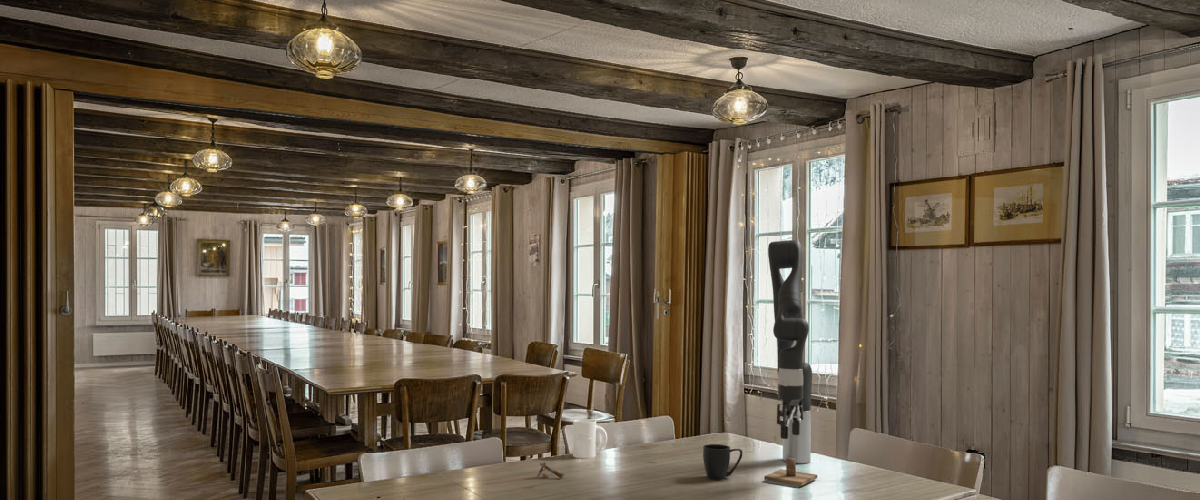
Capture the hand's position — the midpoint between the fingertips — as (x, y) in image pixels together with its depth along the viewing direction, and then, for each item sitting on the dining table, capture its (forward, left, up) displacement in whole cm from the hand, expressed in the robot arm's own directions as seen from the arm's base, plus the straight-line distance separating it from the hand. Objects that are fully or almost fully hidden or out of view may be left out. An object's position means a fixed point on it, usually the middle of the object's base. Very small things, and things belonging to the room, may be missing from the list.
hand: (790, 436), depth 250 cm
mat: (0, 0, -13) cm, 13 cm away
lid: (0, 0, -13) cm, 13 cm away
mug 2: (+10, -18, -14) cm, 24 cm away
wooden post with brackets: (+43, -59, -14) cm, 74 cm away
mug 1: (+10, -69, -14) cm, 71 cm away
